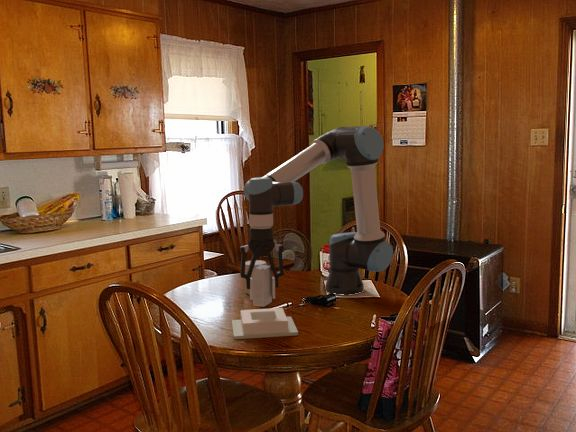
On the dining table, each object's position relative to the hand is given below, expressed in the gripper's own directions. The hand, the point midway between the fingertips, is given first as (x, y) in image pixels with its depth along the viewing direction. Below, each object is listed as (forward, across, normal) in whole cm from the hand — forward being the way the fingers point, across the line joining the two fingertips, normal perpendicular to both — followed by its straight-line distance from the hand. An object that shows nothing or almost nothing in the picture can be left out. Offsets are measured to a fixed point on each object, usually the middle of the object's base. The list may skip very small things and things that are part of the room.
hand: (262, 298), depth 188 cm
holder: (+10, 0, 0) cm, 10 cm away
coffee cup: (+10, -1, -45) cm, 46 cm away
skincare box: (+2, 0, 0) cm, 2 cm away
